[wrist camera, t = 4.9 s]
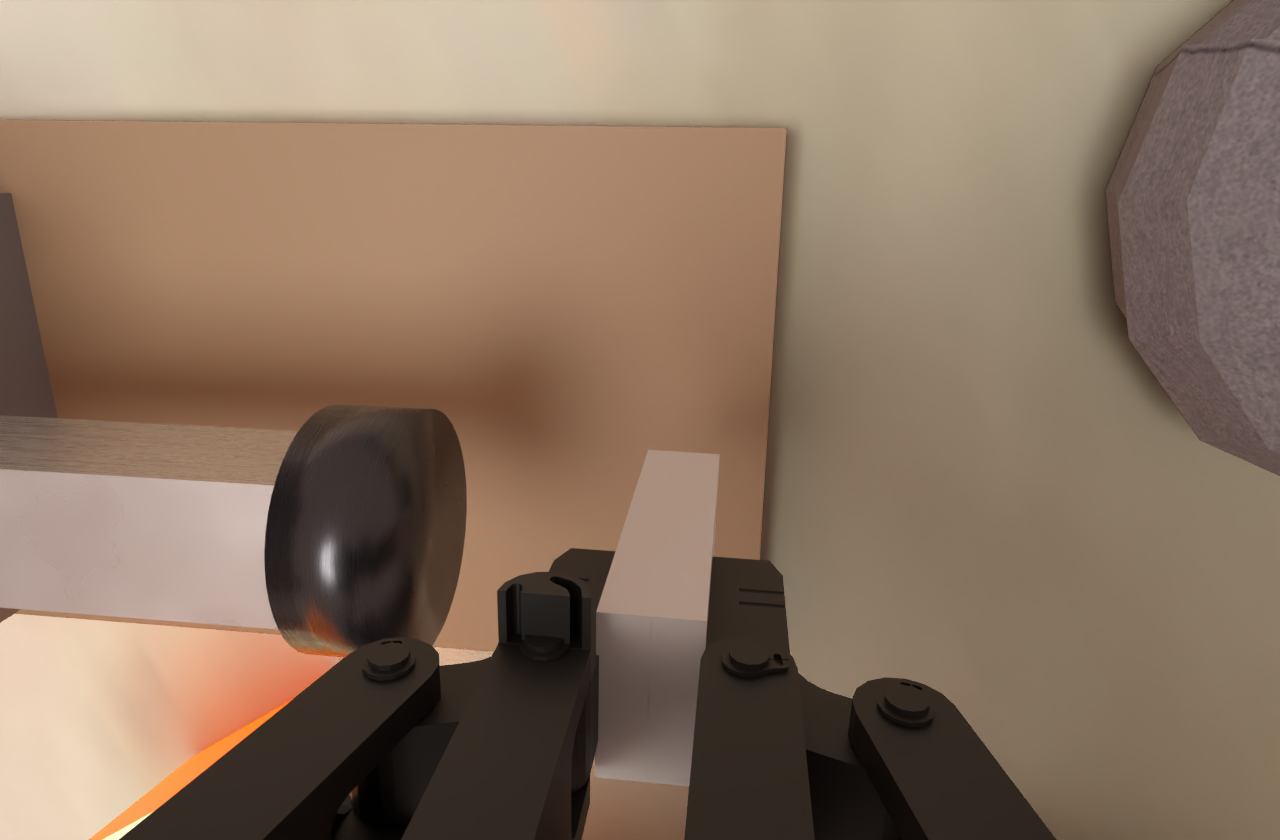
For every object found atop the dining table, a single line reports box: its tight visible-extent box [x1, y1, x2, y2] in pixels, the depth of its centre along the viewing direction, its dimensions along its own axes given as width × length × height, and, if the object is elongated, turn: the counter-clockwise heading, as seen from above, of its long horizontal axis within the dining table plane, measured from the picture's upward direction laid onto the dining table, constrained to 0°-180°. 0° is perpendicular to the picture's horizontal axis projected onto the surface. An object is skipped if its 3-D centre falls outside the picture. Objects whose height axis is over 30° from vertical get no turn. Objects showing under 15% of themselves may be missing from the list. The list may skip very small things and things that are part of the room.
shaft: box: [0, 404, 467, 657], centre depth 18 cm, size 18×5×5 cm, turn 89°
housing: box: [0, 120, 787, 652], centre depth 20 cm, size 34×16×16 cm, turn 89°
